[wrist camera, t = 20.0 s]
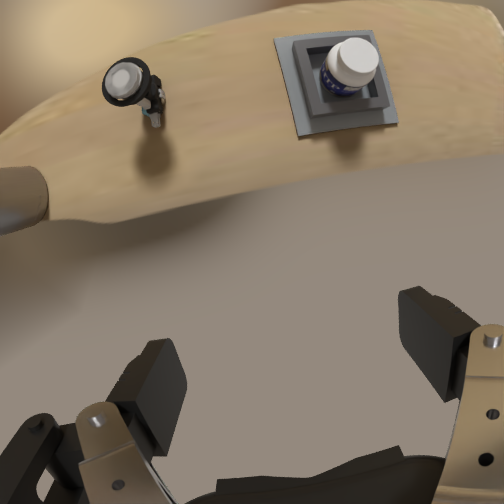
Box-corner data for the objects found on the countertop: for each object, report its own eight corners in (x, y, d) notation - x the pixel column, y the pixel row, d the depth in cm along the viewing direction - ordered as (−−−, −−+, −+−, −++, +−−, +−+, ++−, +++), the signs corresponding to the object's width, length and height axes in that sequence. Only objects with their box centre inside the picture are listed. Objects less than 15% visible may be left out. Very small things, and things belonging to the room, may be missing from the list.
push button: (178, 122, 36) (150, 107, 26) (139, 133, 36) (101, 123, 26) (171, 74, 34) (142, 47, 24) (132, 86, 35) (95, 65, 25)
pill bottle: (311, 65, 33) (323, 37, 24) (349, 54, 32) (370, 27, 23) (329, 103, 34) (347, 84, 25) (367, 92, 33) (393, 72, 25)
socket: (298, 136, 36) (300, 133, 33) (273, 40, 33) (274, 30, 30) (397, 122, 34) (406, 119, 31) (371, 31, 31) (378, 22, 28)
